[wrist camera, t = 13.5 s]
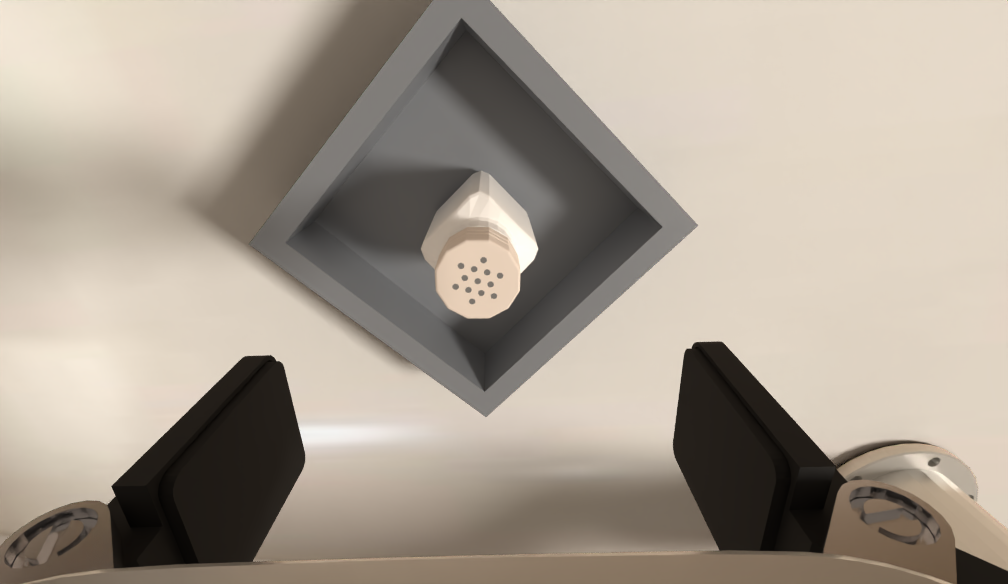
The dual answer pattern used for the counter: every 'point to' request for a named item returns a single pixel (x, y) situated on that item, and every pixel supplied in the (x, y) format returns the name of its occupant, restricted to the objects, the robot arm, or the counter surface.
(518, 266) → the pepper shaker
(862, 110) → the counter surface
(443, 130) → the bin
